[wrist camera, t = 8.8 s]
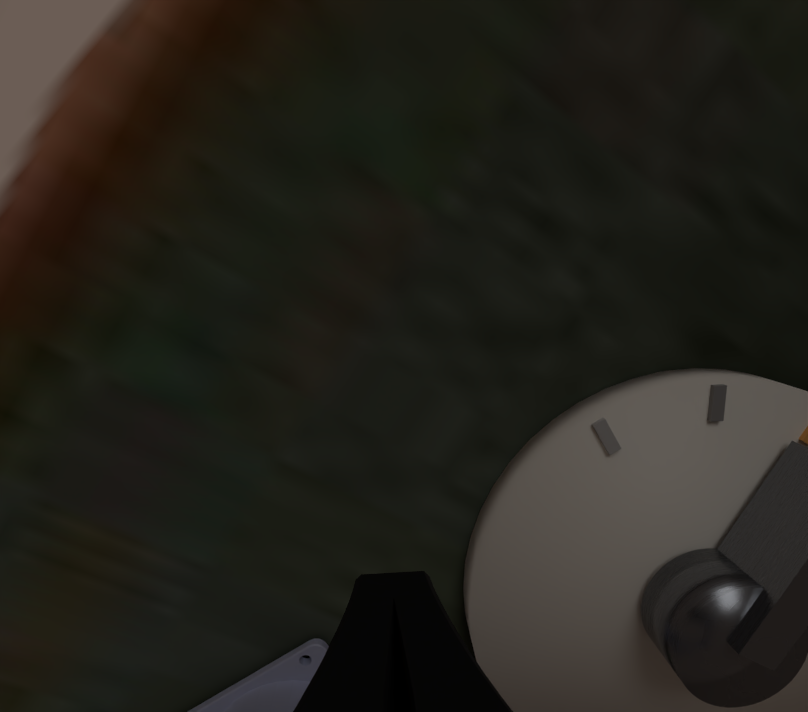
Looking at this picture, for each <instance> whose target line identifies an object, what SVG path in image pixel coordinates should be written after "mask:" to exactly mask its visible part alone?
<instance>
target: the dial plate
mask: <svg viewBox="0 0 808 712" xmlns="http://www.w3.org/2000/svg"><path fill="white" fill-rule="evenodd" d="M791 441H794V442H796V443H799V444H801V445H803V446H806V447H808V392H807V391H804V390H801V389H798V388H795V387H792V386H789V385H785V384H782V383H779V382H776V381H772V380H769V379H766V378H762V377H759V376H756V375H752V374H749V373H743V372H736V371H730V370H724V369H701V368H690V369H681V370H671V371H662V372H658V373H654V374H650V375H645V376H641V377H637V378H633V379H630V380H628V381H625V382H622V383H619V384H617V385H614V386H611V387H609V388H606V389H604V390H602V391H600V392H598V393H596V394H594V395H592V396H590V397H588V398H586V399H584V400H582V401H580V402H578V403H577V404H575V405H574V406H572V407H571V408H569V409H568V410H566V411H565V412H563V413H562V414H561V415H559V416H558V417H556V418H555V419H553V420H552V421H551V422H549V423H548V424H547V425H546V426H545V427H544V428H543V429H541V430H540V431H539V432H538V433H537V434H536V435H535V436H533V437H532V438H531V439H530V440H529V441H528V442H527V443H526V444H525V445H524V447H523V448H522V449H521V450H520V451H519V452H518V453H517V454H516V455H515V457H514V458H513V459H512V460H511V461H510V462H509V464H508V465H507V466H506V468H505V469H504V471H503V472H502V474H501V475H500V476H499V478H498V479H497V481H496V482H495V484H494V485H493V487H492V489H491V491H490V492H489V494H488V496H487V498H486V500H485V502H484V504H483V506H482V508H481V510H480V512H479V515H478V517H477V520H476V523H475V526H474V528H473V531H472V534H471V537H470V541H469V546H468V551H467V555H466V560H465V568H464V583H463V593H464V606H465V615H466V620H467V624H468V628H469V633H470V637H471V641H472V645H473V649H474V653H475V657H476V661H477V663H478V664H479V666H480V667H481V669H482V670H483V672H484V673H485V675H486V676H487V677H488V679H489V680H490V682H491V683H492V684H493V686H494V687H495V688H496V690H497V691H498V693H499V694H500V695H501V697H502V698H503V699H504V701H505V702H506V703H507V705H508V706H509V707H510V708H511V710H512V711H513V712H808V654H807V657H806V660H805V662H804V664H803V666H802V668H801V669H800V671H799V672H798V673H797V675H796V676H795V677H794V678H793V680H792V681H791V682H790V683H789V684H788V685H787V686H786V687H784V688H783V689H782V690H781V691H779V692H778V693H776V694H775V695H773V696H771V697H770V698H768V699H766V700H764V701H761V702H759V703H756V704H753V705H749V706H744V707H735V708H727V707H719V706H714V705H711V704H708V703H705V702H703V701H702V700H700V699H698V698H697V697H695V696H694V695H693V694H692V693H691V692H690V691H689V690H688V689H687V688H686V687H685V685H684V684H683V683H682V681H681V680H680V678H679V677H678V676H677V674H676V673H675V672H674V670H673V669H672V667H671V666H670V665H669V663H668V662H667V661H666V659H665V658H664V656H663V655H662V654H661V652H660V651H659V650H658V648H657V647H656V645H655V644H654V643H653V641H652V640H651V639H650V637H649V636H648V634H647V633H646V631H645V629H644V626H643V623H642V618H641V604H642V599H643V595H644V592H645V590H646V588H647V586H648V584H649V582H650V580H651V579H652V578H653V576H654V575H655V574H656V573H657V572H658V571H659V570H660V569H661V568H662V567H663V566H664V565H665V564H666V563H668V562H669V561H671V560H672V559H674V558H675V557H677V556H679V555H681V554H684V553H687V552H689V551H693V550H697V549H705V548H714V549H717V548H718V547H719V545H720V544H721V543H722V541H723V540H724V538H725V537H726V535H727V534H728V532H729V531H730V530H731V528H732V527H733V525H734V524H735V522H736V521H737V519H738V518H739V516H740V515H741V514H742V512H743V511H744V509H745V508H746V506H747V505H748V503H749V502H750V501H751V499H752V498H753V496H754V495H755V493H756V492H757V490H758V489H759V488H760V486H761V485H762V483H763V482H764V480H765V479H766V477H767V476H768V474H769V473H770V472H771V470H772V469H773V467H774V466H775V464H776V463H777V461H778V460H779V459H780V457H781V456H782V454H783V453H784V451H785V450H786V448H787V447H788V445H789V444H790V443H791Z"/></svg>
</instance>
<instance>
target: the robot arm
mask: <svg viewBox="0 0 808 712" xmlns="http://www.w3.org/2000/svg"><path fill="white" fill-rule="evenodd" d="M304 655H308V656H310V658H304V657H302V656H304ZM188 712H513V711H512V710H511V708H510V707H509V706H508V705H507V703H506V702H505V701H504V699H503V698H502V697H501V695H500V694H499V693H498V691H497V690H496V688H495V687H494V686H493V684H492V683H491V682H490V680H489V679H488V677H487V676H486V675H485V673H484V672H483V670H482V669H481V667H480V666H479V664H478V663H477V662H476V660H475V659H474V657H473V656H472V654H471V652H470V651H469V649H468V648H467V646H466V645H465V643H464V641H463V640H462V638H461V637H460V635H459V634H458V632H457V630H456V629H455V627H454V625H453V624H452V622H451V620H450V618H449V616H448V615H447V613H446V611H445V609H444V607H443V606H442V604H441V602H440V600H439V598H438V596H437V594H436V592H435V589H434V587H433V585H432V582H431V580H430V577H429V576H428V575H427V574H426V573H425V572H424V571H417V572H399V573H382V574H364V575H360V576H359V577H358V578H357V579H356V581H355V585H354V589H353V592H352V595H351V598H350V600H349V603H348V606H347V608H346V611H345V613H344V615H343V618H342V620H341V622H340V624H339V627H338V629H337V631H336V633H335V635H334V637H333V639H332V641H331V643H330V645H329V646H328V645H327V643H326V642H325V641H323V640H321V639H312V640H309V641H308V642H306V643H304V644H302V645H301V646H299V647H297V648H296V649H294V650H292V651H290V652H289V653H287V654H285V655H284V656H282V657H280V658H278V659H277V660H275V661H273V662H272V663H270V664H268V665H266V666H265V667H263V668H261V669H260V670H258V671H256V672H254V673H253V674H251V675H249V676H248V677H246V678H244V679H242V680H241V681H239V682H237V683H236V684H234V685H232V686H230V687H229V688H227V689H225V690H224V691H222V692H220V693H219V694H217V695H215V696H213V697H212V698H210V699H208V700H207V701H205V702H203V703H201V704H200V705H198V706H196V707H195V708H193V709H191V710H189V711H188Z"/></svg>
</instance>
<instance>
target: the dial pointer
mask: <svg viewBox="0 0 808 712" xmlns="http://www.w3.org/2000/svg"><path fill="white" fill-rule="evenodd" d="M641 618H642V623H643V626H644V629H645V631H646V633H647V634H648V636H649V637H650V639H651V640H652V641H653V643H654V644H655V645H656V647H657V648H658V650H659V651H660V652H661V654H662V655H663V656H664V658H665V659H666V661H667V662H668V663H669V665H670V666H671V667H672V669H673V670H674V672H675V673H676V674H677V676H678V677H679V678H680V680H681V681H682V683H683V684H684V685H685V687H686V688H687V689H688V690H689V691H690V692H691V693H692V694H693V695H694V696H695V697H697V698H698V699H700V700H702V701H703V702H705V703H708V704H711V705H714V706H719V707H727V708H735V707H744V706H749V705H753V704H756V703H759V702H761V701H764V700H766V699H768V698H770V697H771V696H773V695H775V694H776V693H778V692H779V691H781V690H782V689H783V688H784V687H786V686H787V685H788V684H789V683H790V682H791V681H792V680H793V678H794V677H795V676H796V675H797V673H798V672H799V671H800V669H801V668H802V666H803V664H804V662H805V660H806V657H807V654H808V447H806V446H803V445H801V444H799V443H796V442H794V441H791V443H790V444H789V445H788V447H787V448H786V450H785V451H784V453H783V454H782V456H781V457H780V459H779V460H778V461H777V463H776V464H775V466H774V467H773V469H772V470H771V472H770V473H769V474H768V476H767V477H766V479H765V480H764V482H763V483H762V485H761V486H760V488H759V489H758V490H757V492H756V493H755V495H754V496H753V498H752V499H751V501H750V502H749V503H748V505H747V506H746V508H745V509H744V511H743V512H742V514H741V515H740V516H739V518H738V519H737V521H736V522H735V524H734V525H733V527H732V528H731V530H730V531H729V532H728V534H727V535H726V537H725V538H724V540H723V541H722V543H721V544H720V545H719V547H718V548H717V549H714V548H705V549H697V550H693V551H689V552H687V553H684V554H681V555H679V556H677V557H675V558H674V559H672V560H671V561H669V562H668V563H666V564H665V565H664V566H663V567H662V568H661V569H660V570H659V571H658V572H657V573H656V574H655V575H654V576H653V578H652V579H651V580H650V582H649V584H648V586H647V588H646V590H645V592H644V595H643V599H642V604H641Z"/></svg>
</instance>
